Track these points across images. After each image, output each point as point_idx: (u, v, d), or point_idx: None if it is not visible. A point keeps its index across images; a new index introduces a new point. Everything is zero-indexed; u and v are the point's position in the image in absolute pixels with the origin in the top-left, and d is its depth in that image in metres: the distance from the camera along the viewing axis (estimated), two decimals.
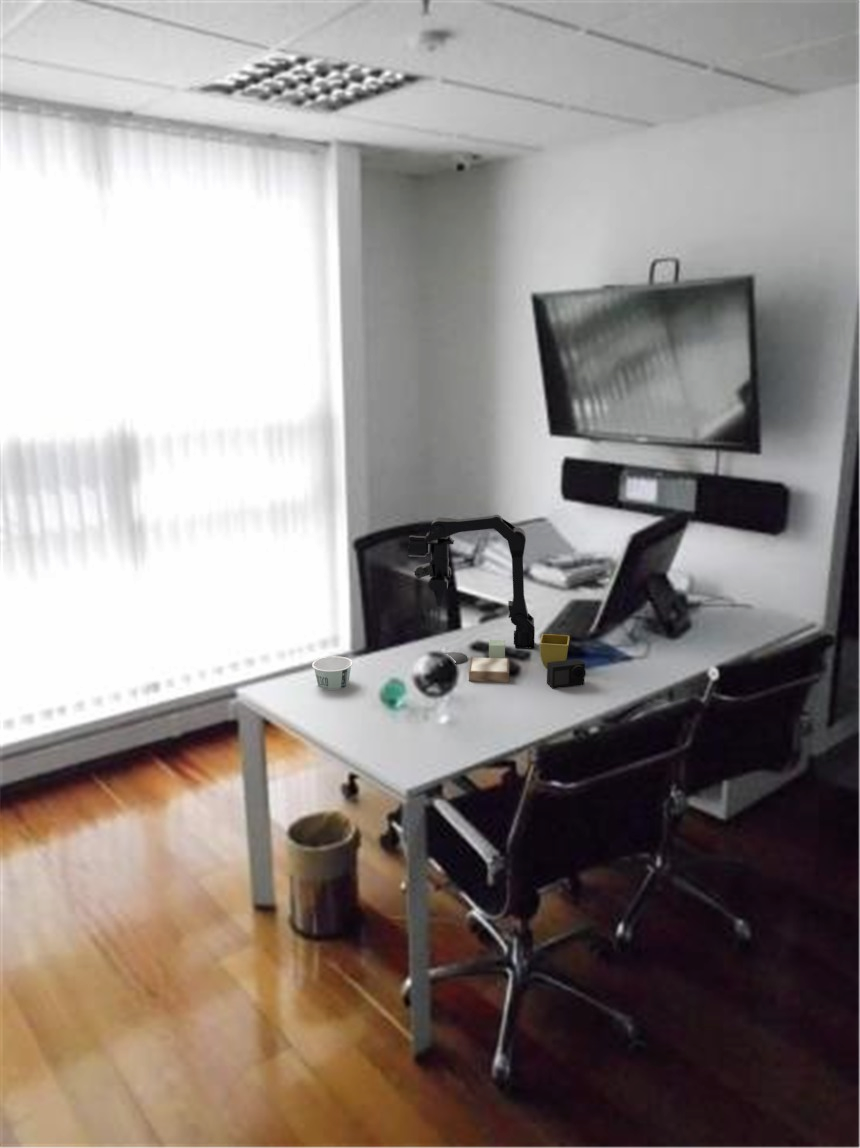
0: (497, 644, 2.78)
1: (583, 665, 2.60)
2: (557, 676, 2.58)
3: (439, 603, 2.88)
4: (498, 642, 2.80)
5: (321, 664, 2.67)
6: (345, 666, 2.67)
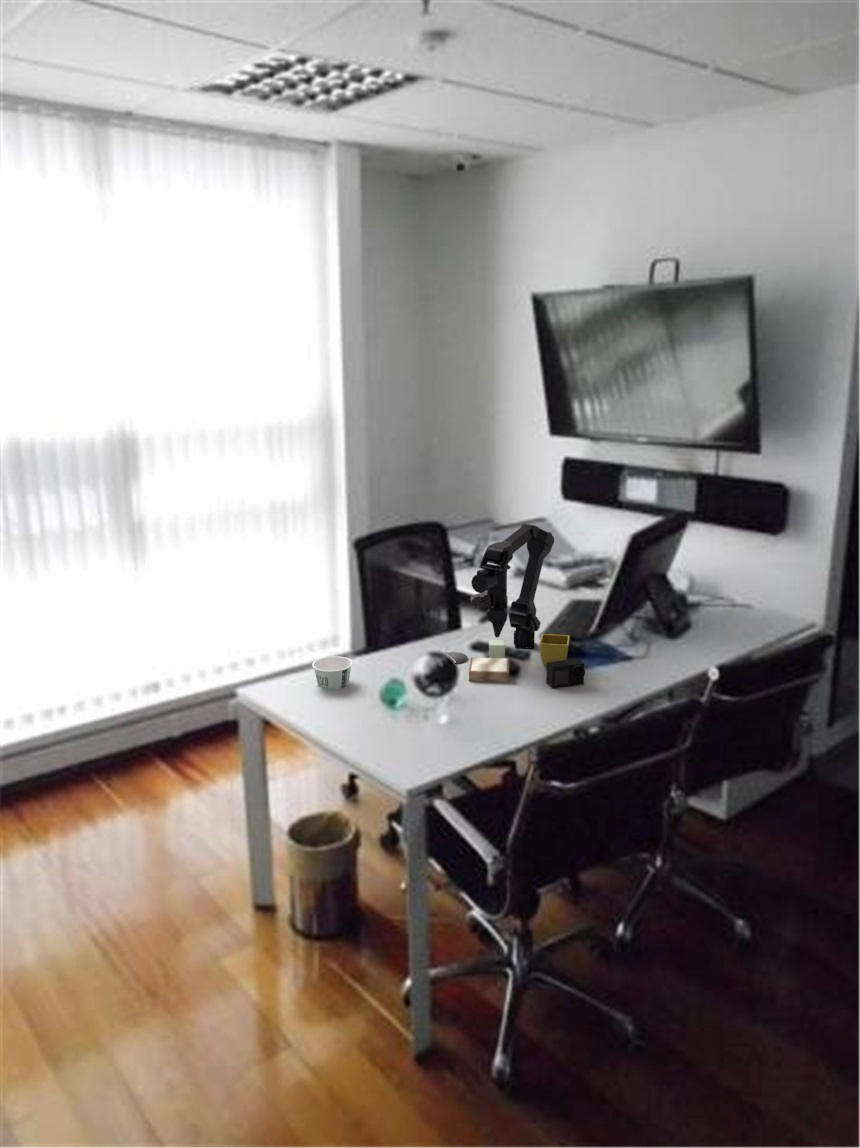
0: (497, 644, 2.78)
1: (583, 665, 2.60)
2: (557, 676, 2.58)
3: (497, 634, 2.74)
4: (498, 642, 2.80)
5: (321, 664, 2.67)
6: (345, 666, 2.67)
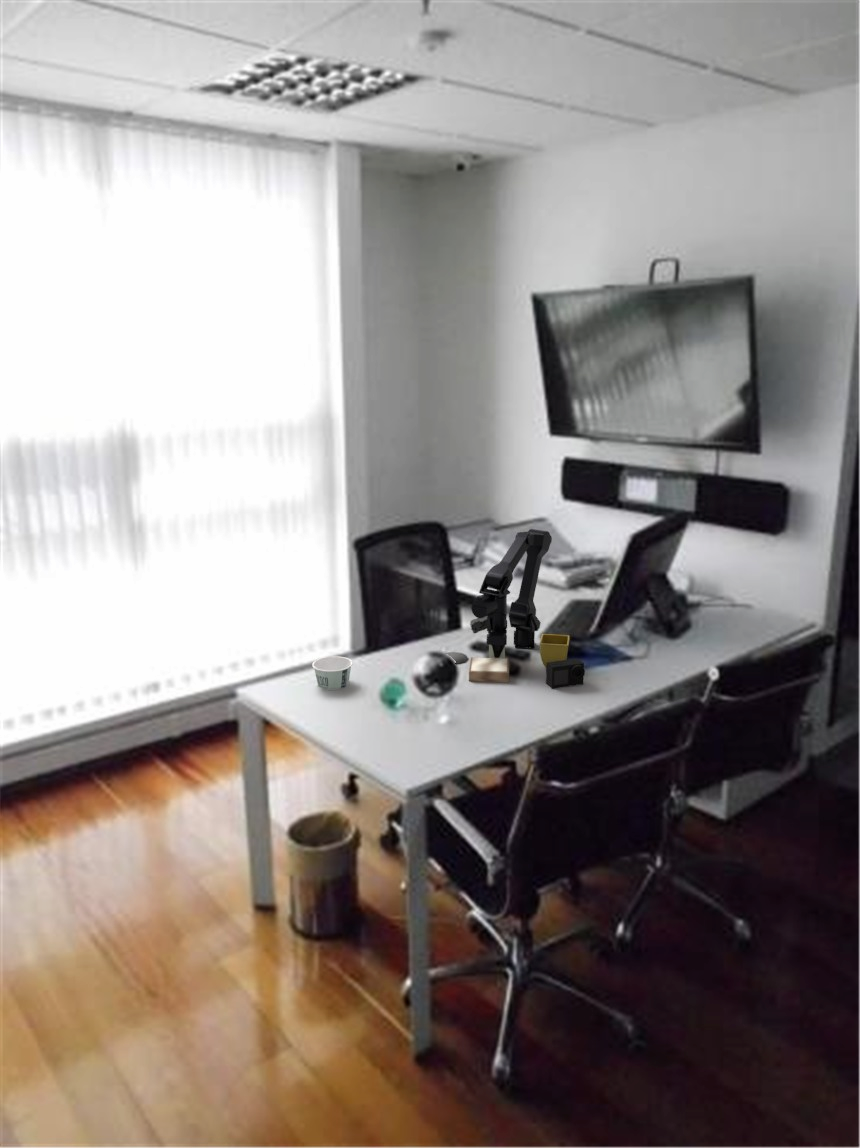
0: None
1: (582, 665, 2.60)
2: (556, 676, 2.58)
3: (497, 656, 2.78)
4: None
5: (321, 664, 2.67)
6: (345, 666, 2.67)
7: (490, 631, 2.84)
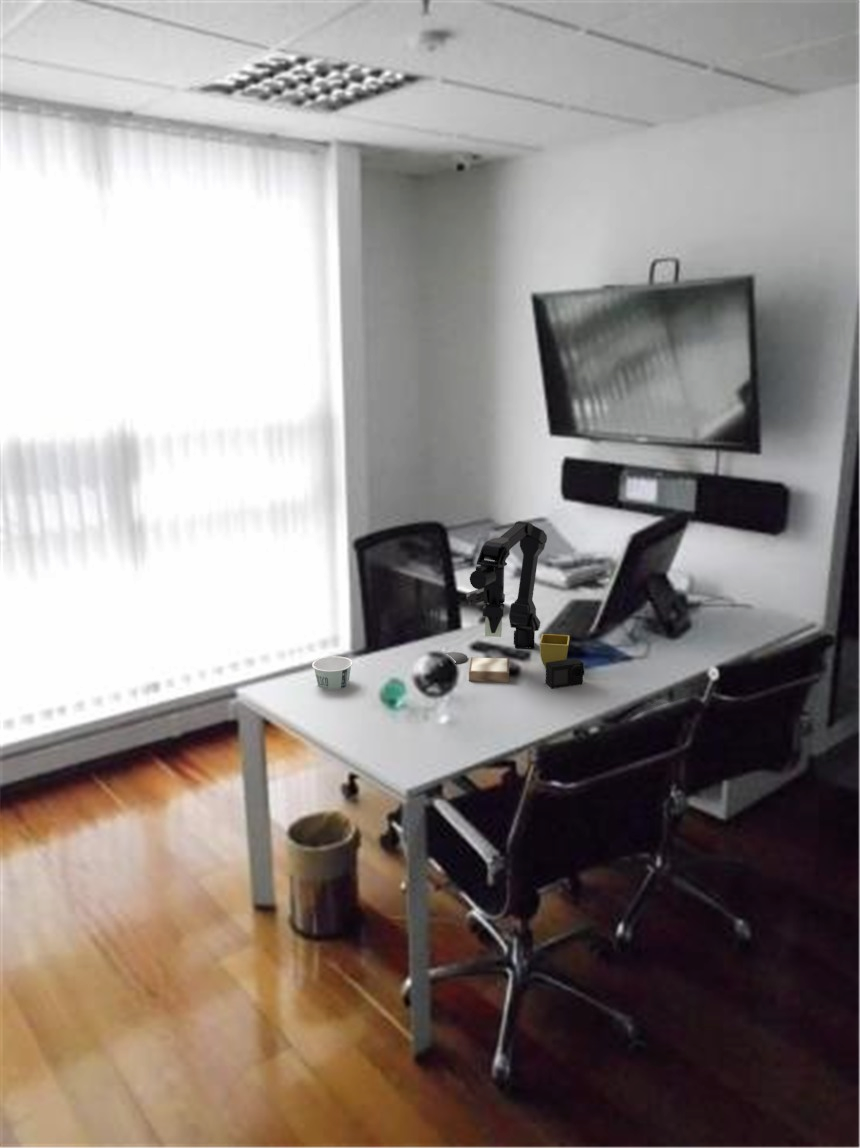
0: None
1: (582, 664, 2.60)
2: (556, 676, 2.58)
3: (494, 630, 2.71)
4: None
5: (321, 664, 2.67)
6: (345, 666, 2.67)
7: None
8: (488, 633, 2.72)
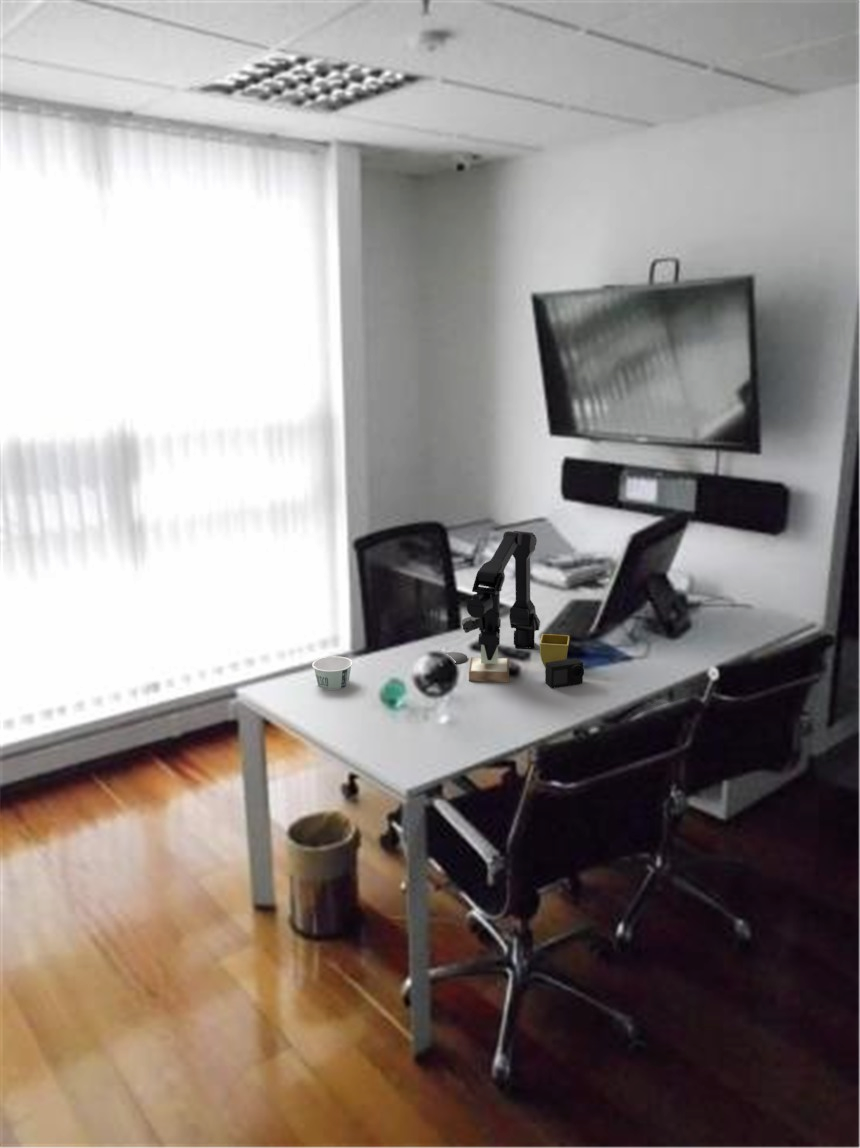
0: None
1: (581, 664, 2.60)
2: (556, 675, 2.58)
3: (490, 657, 2.66)
4: None
5: (321, 664, 2.67)
6: (345, 666, 2.67)
7: (483, 630, 2.71)
8: (484, 660, 2.67)
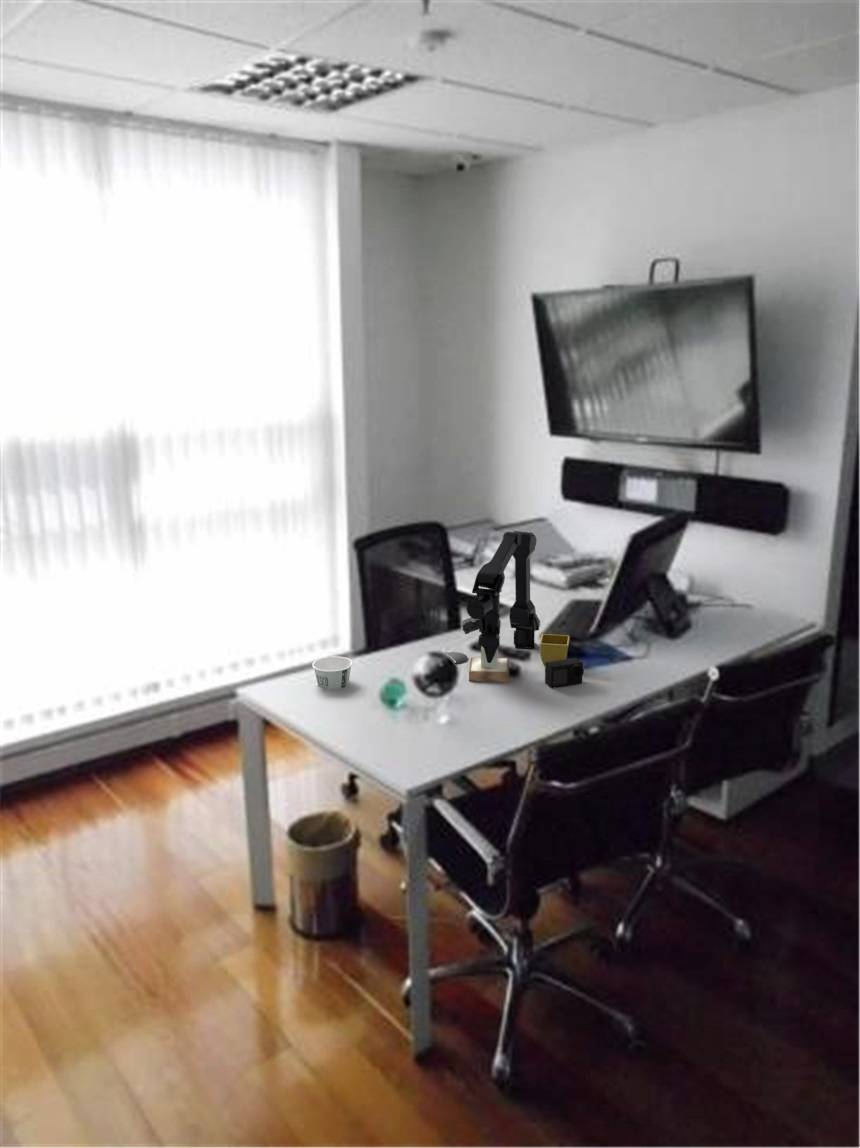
0: None
1: (581, 664, 2.60)
2: (556, 675, 2.58)
3: (490, 660, 2.65)
4: None
5: (321, 664, 2.67)
6: (345, 666, 2.67)
7: (483, 630, 2.72)
8: (484, 664, 2.67)
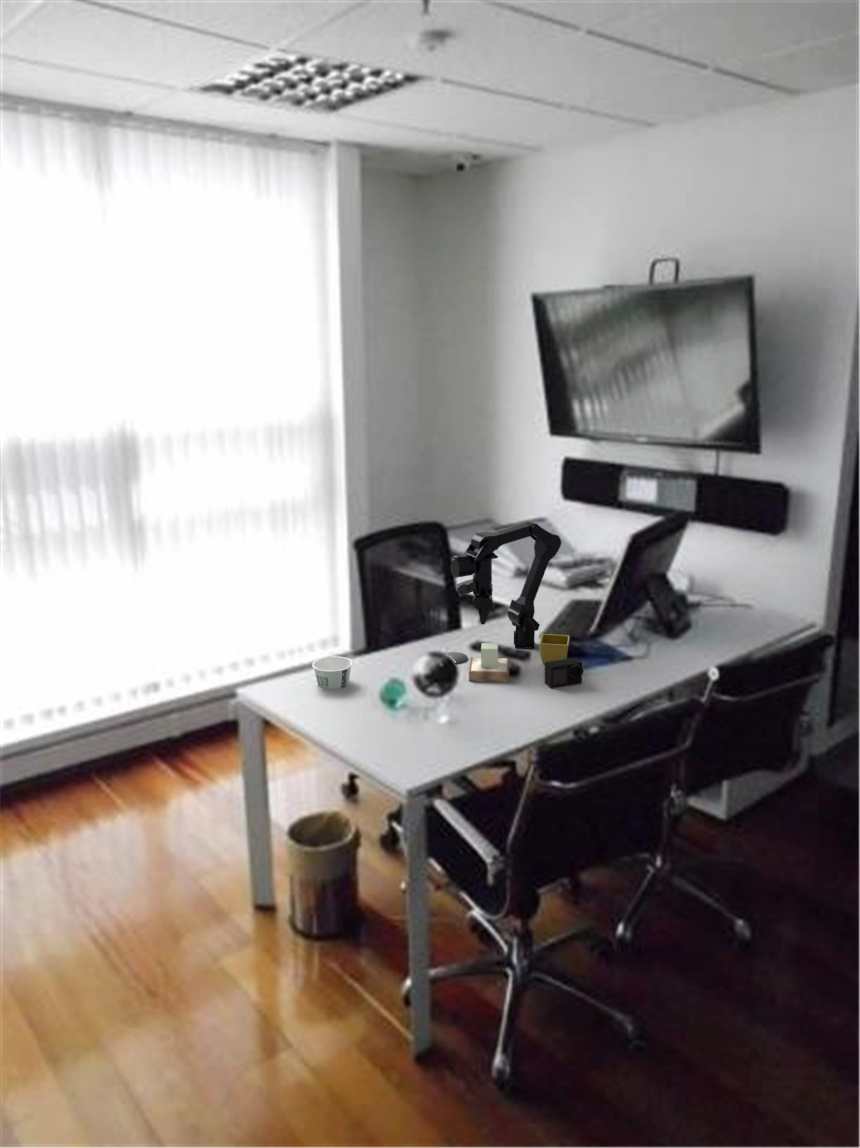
0: (489, 648, 2.66)
1: (581, 664, 2.60)
2: (555, 675, 2.59)
3: (483, 621, 2.79)
4: (490, 646, 2.68)
5: (321, 664, 2.67)
6: (345, 666, 2.67)
7: None
8: (484, 664, 2.67)
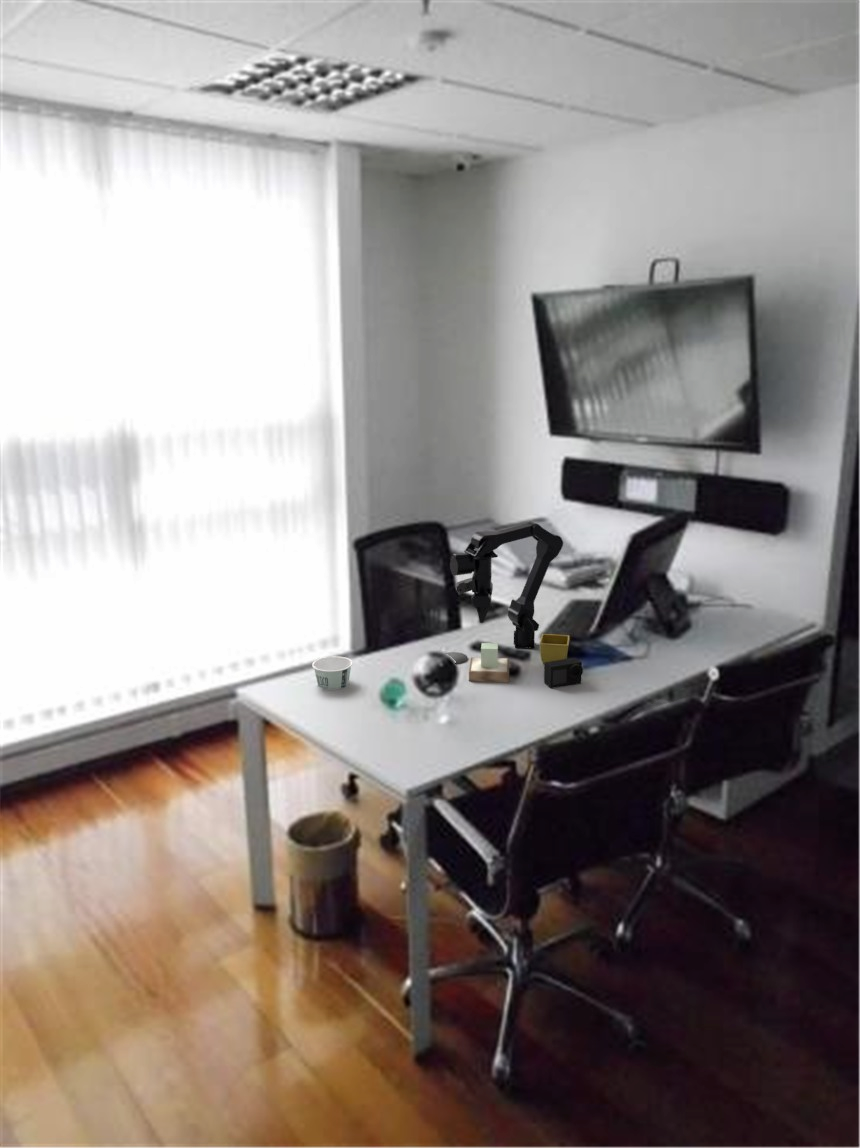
0: (489, 648, 2.66)
1: (580, 664, 2.61)
2: (555, 675, 2.59)
3: (482, 619, 2.79)
4: (490, 646, 2.68)
5: (321, 664, 2.67)
6: (345, 666, 2.67)
7: (476, 592, 2.89)
8: (484, 664, 2.67)
